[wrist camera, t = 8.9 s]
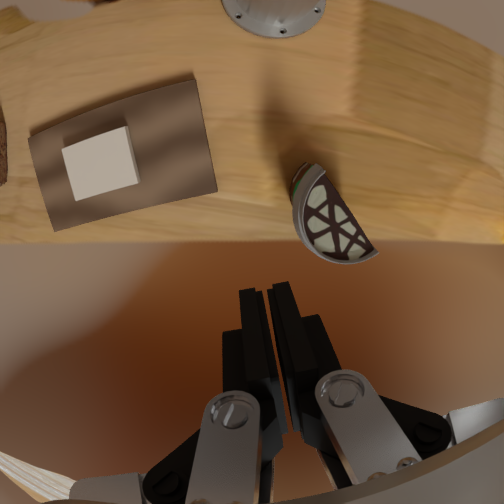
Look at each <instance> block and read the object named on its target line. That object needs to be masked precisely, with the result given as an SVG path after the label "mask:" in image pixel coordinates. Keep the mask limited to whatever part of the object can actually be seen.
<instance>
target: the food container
mask: <svg viewBox="0 0 504 504" xmlns="http://www.w3.org/2000/svg"><path fill="white" fill-rule="evenodd" d="M325 172H326V171H325V170H324V169H323V168H322V167H321V166H320V165H318V164H317V163H316V164H315V165H311V164H309V163H306V162H305V163H304V164H303V165H302V166H301V167H300V168H299V169H298V171H297V172H296V174H295V176H294V177H293V179H292V183H291V187H290V201H291V204H292V206H293V210H292V213H293V222H294V226H295V229H296V232H297V234H298V236H299V238H300V239H301V241H302V242H303V244H304V245H305V246H306V247H307V248H308V249H309V250H311V251H312V252H314V253H315V254H316V255H318V256H319V257H321V258H323V259H325V260H327V261H330V262H333V263H339V264H354V263H360V262H362V261H366V260H368V259H370V258H372V257H374V256H375V255H377V254H378V253H379V252H378V251H377V250H376V249H375V248H374V247H373V246H372V244H371V243H370V241H369V240H368V238H367V237H366V235H365V233H364V232H363V230H362V229H361V227H360V226H359V224H358V222H357V221H356V219H355V217H354V216H353V214H352V213H351V211H350V210H349V208H348V207H347V206H346V204H345V203H344V201H343V200H342V198H341V197H340V195H339V194H338V192H337V191H336V189H335V188H334V187H333V185H332V184H331V182H330V181H329V179H328V178H327V177H326V175H325V174H324V173H325Z"/></svg>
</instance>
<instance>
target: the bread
mask: <svg viewBox="0 0 504 504" xmlns="http://www.w3.org/2000/svg"><path fill="white" fill-rule="evenodd" d="M6 148H7V143H6V127H5V124H4V123H3V122H1V121H0V186H2V185H3V184H5V182H7V180H6V178H7V152H6Z"/></svg>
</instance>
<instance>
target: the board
mask: <svg viewBox="0 0 504 504" xmlns="http://www.w3.org/2000/svg"><path fill="white" fill-rule="evenodd" d="M124 126H128V130H129V134H130V139H131V143H132V147H133V152H134V156H135V160H136V164H137V168H138V172H139V176H140V180H141V181H140V182H139V183H137V184H134V185H130V186H126V187H123V188H119V189H115V190H112V191H108V192H105V193H101V194H98V195H95V196H91V197H88V198H85V199H82V200H78V201H75V197H74V194H73V191H72V187H71V184H70V180H69V177H68V173H67V169H66V165H65V162H64V158H63V154H62V149H63V148H66V147H68V146H71V145H73V144H76V143H78V142H81V141H84V140H86V139H89V138H92V137H95V136H97V135H100V134H103V133H106V132H109V131H112V130H115V129H118V128H121V127H124ZM28 143H29V147H30V152H31V156H32V160H33V164H34V168H35V172H36V175H37V179H38V183H39V186H40V189H41V193H42V196H43V199H44V203H45V206H46V209H47V212H48V215H49V218H50V221H51V224H52V227H53V229H54V232H56V231H60V230H63V229H67V228H70V227H74V226H77V225H81V224H84V223H88V222H92V221H95V220H99V219H103V218H107V217H111V216H114V215H118V214H122V213H126V212H130V211H134V210H138V209H143V208H147V207H151V206H155V205H160V204H164V203H168V202H173V201H177V200H182V199H187V198H191V197H196V196H201V195H206V194H210V193H215V192H218V189H217V184H216V179H215V174H214V169H213V164H212V159H211V155H210V150H209V145H208V140H207V135H206V129H205V124H204V119H203V114H202V109H201V104H200V99H199V93H198V88H197V83H196V80H195V79H194V80H189V81H185V82H181V83H177V84H173V85H169V86H165V87H161V88H158V89H154V90H150V91H147V92H144V93H140V94H137V95H134V96H131V97H127V98H124V99H121V100H118V101H115V102H113V103H110V104H107V105H104V106H101V107H99V108H96V109H93V110H91V111H88V112H85V113H83V114H80V115H78V116H76V117H73V118H71V119H68V120H66V121H64V122H61V123H59V124H57V125H55V126H52V127H50V128H48V129H46V130H44V131H42V132H40V133H38V134H36V135H34V136H32V137H30V138H28Z"/></svg>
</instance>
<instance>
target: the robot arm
mask: <svg viewBox="0 0 504 504" xmlns="http://www.w3.org/2000/svg"><path fill="white" fill-rule="evenodd" d="M222 3H223V7H224V9H225V11H226V13H227V14H228V16H229V17H230V18H231V20H232V21H234V22H235V23H236V24H237V25H238V26H239V27H241V28H243V29H244V30H246V31H248V32H250V33H252V34H255V35H258V36H262V37H266V38H275V39H277V38H289V37H294V36H297V35H299V34H302V33H304V32H306V31H307V30H309V29H311V28H312V27H313V26H314V25H315V24H316V23H317V22H318V21H319V20H320V18H321V17H322V15H323V13H324V9H325V5H326V0H222ZM315 11H317V13H316V12H315ZM237 16H240V17H241V18H240V19H237V18H236V17H237ZM280 31H283V32H284V34H281V33H280ZM272 286H273V289H267V293H268V299H269V305H270V311H271V317H272V323H273V329H274V335H275V341H276V347H277V353H278V358H279V363H280V367H281V372H282V377H283V381H284V387H285V392H286V396H287V401H288V406H289V411H290V416H291V421H292V425H293V430H294V432H296V431H301V436H302V439H304V442H305V443H306V444H308V445H310V446H313V447H314V448H316V449H317V453H318V455H319V457H320V460H321V462H322V464H323V466H324V468H325V471H326V473H327V475H328V477H329V479H330V481H331V484H332V486H333V488H334V490H335V491H331V492H327V493H322V494H318V495H313V496H309V497H304V498H299V499H293V500H287V501H281V502H274V503H273V483H274V457H275V455H276V454H277V453H278V452H279V451H280V450H281V449H282V448H283V440H282V434H286V433H288V429H287V422H286V416H285V411H284V405H283V399H282V393H281V387H280V381H279V375H278V370H277V365H276V360H275V355H274V350H273V345H272V340H271V334H270V329H269V324H268V319H267V314H266V309H265V304H264V299H263V294H262V291H257V292H256V291H255V288H249V289H244V290H239V298H240V310H241V323H242V329H237V330H231V331H225V332H223V335H222V347H223V348H222V353H223V354H222V356H223V393H221V394H219V395H217V396H216V397H214V398H213V399H212V400H211V401H210V402H209V403H208V404H207V406H206V409H205V411H204V415H203V420H202V425H201V428H200V429H199V430H198V431H197V432H195V433H194V434H193V435H192V436H191V437H189V438H188V439H187V440H186V441H185V442H184V443H182V445H180V446H179V447H178V448H176V449H175V450H174V451H173V452H171V453H170V454H169V455H168V456H167V457H166V458H164V459H163V460H162V461H160V462H159V463H158V464H157V465H155V466H154V467H153V468H152V469H151V470H150V471H149V472H148V473H146V474H139V473H138V472H135V473H128V474H121V475H113V476H104V477H95V478H84V479H81V480H78V481H77V482H75V483H74V484H73V486H72V487H71V489H70V494H69V499H63V500H53V501H48V502H44V503H41V504H504V398H498V399H494V400H491V401H488V402H485V403H481V404H477V405H474V406H470V407H466V408H462V409H458V410H454V411H449V412H448V414H447V415H444V416H440V415H438V414H436V413H433V412H430V411H426V410H423V409H420V408H417V407H413V406H410V405H407V404H404V403H401V402H398V401H395V400H392V399H389V398H386V397H383V396H380V395H378V394H377V393H376V391H375V390H374V389H373V387H372V386H371V384H370V383H369V381H368V380H367V379H366V378H365V377H364V376H363V375H362V374H360V373H357V372H356V371H351V370H342V369H341V366H340V364H339V361H338V359H337V356H336V354H335V351H334V350H333V347H332V344H331V342H330V340H329V337H328V335H327V332H326V330H325V327H324V325H323V323H322V320H321V318H320V316H319V315H318V314H316V315H311V316H306V317H301V316H300V313H299V310H298V307H297V304H296V302H295V299H294V296H293V293H292V290H291V287H290V284H289V282H288V281H287V282H281V283H276V284H273V285H272Z"/></svg>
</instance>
